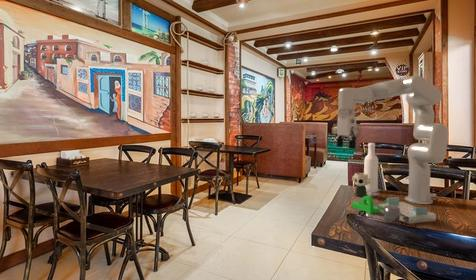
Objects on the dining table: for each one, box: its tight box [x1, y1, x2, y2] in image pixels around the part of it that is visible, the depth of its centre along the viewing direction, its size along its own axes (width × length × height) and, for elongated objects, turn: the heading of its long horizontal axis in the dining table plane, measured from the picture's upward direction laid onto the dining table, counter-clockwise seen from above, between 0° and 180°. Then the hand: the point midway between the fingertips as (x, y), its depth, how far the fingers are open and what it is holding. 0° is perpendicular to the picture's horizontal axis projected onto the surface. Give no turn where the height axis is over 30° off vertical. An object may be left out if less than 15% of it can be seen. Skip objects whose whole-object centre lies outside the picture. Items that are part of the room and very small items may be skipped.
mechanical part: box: [351, 195, 381, 215], centre depth 134 cm, size 12×6×8 cm, turn 20°
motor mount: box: [378, 196, 437, 225], centre depth 124 cm, size 22×18×6 cm
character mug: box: [351, 172, 370, 197], centre depth 157 cm, size 11×7×13 cm, turn 34°
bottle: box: [363, 142, 379, 193], centre depth 167 cm, size 8×8×30 cm
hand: (345, 147), depth 134 cm, fingers open, 9 cm apart
